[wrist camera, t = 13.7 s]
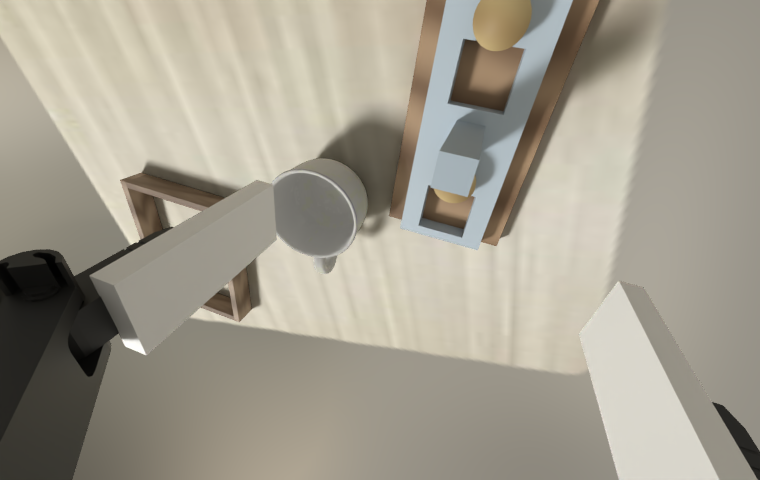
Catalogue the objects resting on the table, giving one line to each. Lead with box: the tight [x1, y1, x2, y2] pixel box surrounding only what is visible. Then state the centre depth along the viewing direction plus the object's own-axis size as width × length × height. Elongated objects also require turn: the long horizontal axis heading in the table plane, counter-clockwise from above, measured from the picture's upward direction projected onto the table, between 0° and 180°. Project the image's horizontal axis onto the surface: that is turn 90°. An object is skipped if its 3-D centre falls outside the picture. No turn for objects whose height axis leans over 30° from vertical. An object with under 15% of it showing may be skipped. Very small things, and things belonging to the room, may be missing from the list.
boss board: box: [389, 0, 599, 246], centre depth 29 cm, size 28×13×5 cm, turn 172°
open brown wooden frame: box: [120, 173, 252, 322], centre depth 54 cm, size 23×18×4 cm
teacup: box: [271, 158, 368, 274], centre depth 39 cm, size 14×11×8 cm
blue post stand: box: [400, 0, 573, 250], centre depth 26 cm, size 24×9×12 cm, turn 172°
